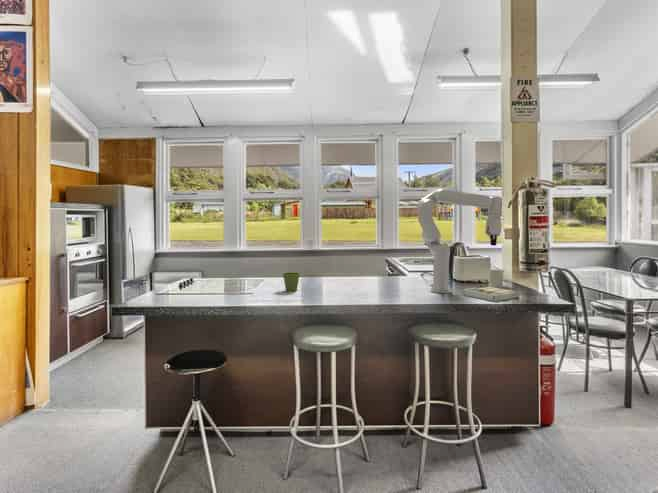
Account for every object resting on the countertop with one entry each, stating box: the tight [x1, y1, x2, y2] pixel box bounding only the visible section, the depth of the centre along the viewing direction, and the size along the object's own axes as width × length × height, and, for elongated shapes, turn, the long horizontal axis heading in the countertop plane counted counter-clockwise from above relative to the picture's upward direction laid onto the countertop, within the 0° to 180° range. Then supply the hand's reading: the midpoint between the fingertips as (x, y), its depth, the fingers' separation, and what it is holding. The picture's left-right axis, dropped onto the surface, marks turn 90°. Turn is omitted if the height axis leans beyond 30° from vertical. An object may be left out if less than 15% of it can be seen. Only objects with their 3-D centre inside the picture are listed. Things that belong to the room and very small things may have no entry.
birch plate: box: [477, 286, 518, 300], centre depth 247 cm, size 20×11×3 cm, turn 29°
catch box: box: [462, 287, 507, 303], centre depth 242 cm, size 22×11×4 cm, turn 29°
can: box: [488, 267, 504, 288], centre depth 278 cm, size 9×9×12 cm
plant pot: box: [282, 271, 301, 292], centre depth 266 cm, size 12×12×11 cm
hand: (493, 245), depth 259 cm, fingers closed
